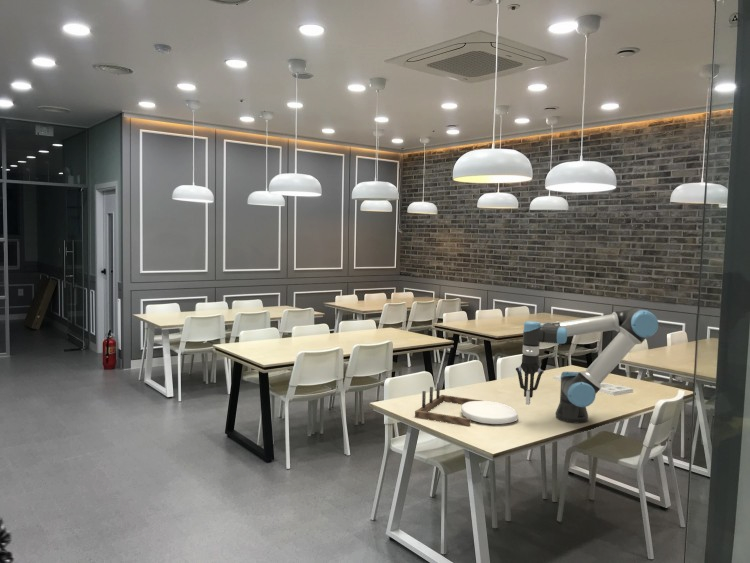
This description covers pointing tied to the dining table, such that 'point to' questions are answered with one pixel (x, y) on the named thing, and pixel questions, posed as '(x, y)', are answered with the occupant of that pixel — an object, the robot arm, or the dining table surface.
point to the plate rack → (439, 399)
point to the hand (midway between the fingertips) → (527, 403)
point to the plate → (489, 412)
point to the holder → (608, 388)
